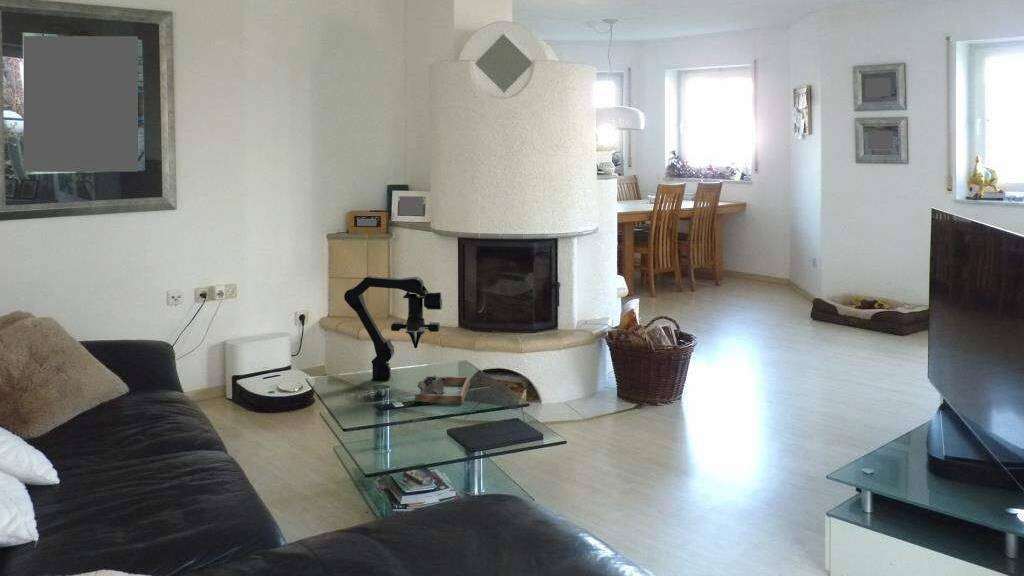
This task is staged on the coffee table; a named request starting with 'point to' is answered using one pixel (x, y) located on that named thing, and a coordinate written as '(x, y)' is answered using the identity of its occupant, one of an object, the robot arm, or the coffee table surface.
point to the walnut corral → (447, 398)
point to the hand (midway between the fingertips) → (415, 348)
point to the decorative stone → (432, 385)
